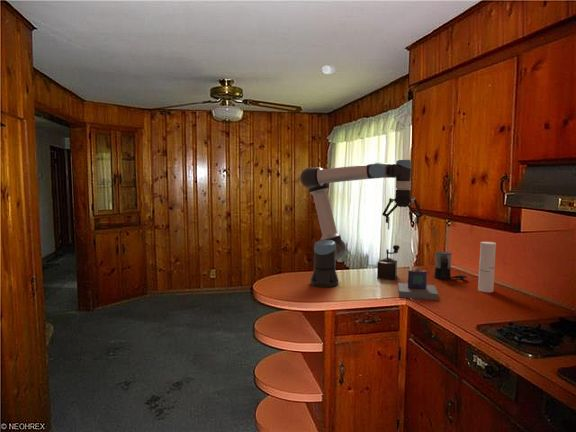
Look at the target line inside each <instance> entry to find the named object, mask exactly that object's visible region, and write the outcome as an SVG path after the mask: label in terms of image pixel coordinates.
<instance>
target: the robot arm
mask: <svg viewBox="0 0 576 432" xmlns="http://www.w3.org/2000/svg"><path fill="white" fill-rule="evenodd" d="M412 169H413V168H412V161H411V160H410V159H406V158H405V159H404V158H403V159H397V160H396V162H395V163H388V162H387V163H386V162H385V163H382V162H374V163H367V164H366V163H365V164H359V165H349V166H340V167H331V168H322V167H306V168H305V169H303V170H302V171H301V173H300V176H299V179H300V183H301V184H302V186H303V187H305V188H307V189H308V193H309V194H310V195H312V197H313V202H314V205H315V210H316V215H317V218H318V223H319V227H320V232H321V237H320V239H319V240H318V241H316V242H315V243H314V245H313V246H314V247H313V271H312V273H311V274H312V275H311V278H310V285H312V286H314V287H319V288H334V287H336V286H338V285H339V278H338V274H337V271H336V261H338V260H340V259H342V257H343V256H344V255H345V253H346V250H347V247H346V244H345V241H343V240H342V237H341V234H340V233H338V231H337V226H336V223H335V218H334V214H333V211H332V210H333V209H332V206H331V202H330V198H329V197H330V196H329V193H328V191H329V189H330V186H329V185H330V183H342V182H351V181H361V180H372V179H374V180H375V179H382V178H383V179H386V178H387V179H390V178H392V179H395V195H394V196H395V198H391V197H390V198H389V199H388V202H387V205H386V207H385V208H384V211H383V212H382V216H384V217H385V223H386V224H387V230H390V221H391V219H390V217H391V216H390V215H391V214H392V213H393V212H394V211H395V210H396V209H397V208H398V207H399V208H407V207H408V209H409V210H410V211H411V212H412V214H413V215H414V216H415V217H414V231H417V225H419V223H420V218H421V217H422V218H423V213H422V211H421V210H420V209H421V208H420V207H419V205H418V202H417V198H411V188H412V183H411V182H412ZM393 202H394V203H395V205H393V206H392V207H391V209H390V206H391V204H392V203H393ZM411 202H412V203H413V204H414V206H415V209H416V211H417V212H418V213H417V212H416V211H415V209H414V208H413V207H412V206H411V205H410V203H411ZM389 209H390V210H389ZM388 210H389V211H388ZM387 211H388V212H387Z"/></svg>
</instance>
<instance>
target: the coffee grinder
mask: <svg viewBox="0 0 576 432" xmlns="http://www.w3.org/2000/svg"><path fill="white" fill-rule="evenodd" d="M400 248H401V247H400V245H397V244H394V245H393V246H392V249H393V252H391V251H390V252H389V249H388V248H387V249H386V257H385V258H383V259H379V260H378V261H377V273H376V274H377V275H376V278H377V279H378V280H388V281H396V280H397V278H399V277H398V260H396V259H394V258H390V257H389V255H393V254H398V253H399V250H400Z"/></svg>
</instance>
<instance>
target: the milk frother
mask: <svg viewBox="0 0 576 432" xmlns="http://www.w3.org/2000/svg"><path fill="white" fill-rule="evenodd" d="M434 253H435V254H434V255H435V256H434V276H433V278H435V279H438V280H450V279H460V280H464V279H467V277H468V276H467V275H463V274H459V275H455V276H451V271H452V269H451V268H452V267H451V266H452V255H453V253H452V252H449V251H435V252H434Z"/></svg>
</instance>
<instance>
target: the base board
mask: <svg viewBox="0 0 576 432" xmlns="http://www.w3.org/2000/svg"><path fill="white" fill-rule="evenodd" d="M397 291H398V297H399V298H403V299H404V298H405V299H419V300H430V301H432V300H433V301H439V292H438V290H437V287H436V285H434V284H433V285H432V284H427V288H426V289H409V288H408V283H402V282H398V284H397Z"/></svg>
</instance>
